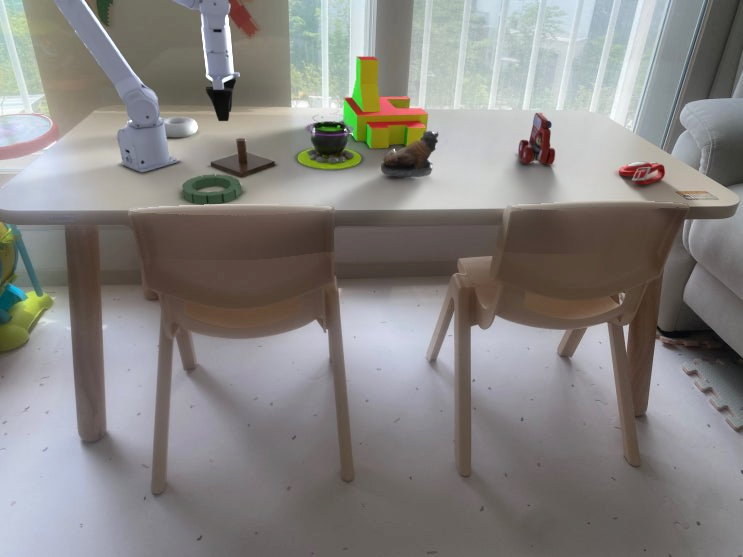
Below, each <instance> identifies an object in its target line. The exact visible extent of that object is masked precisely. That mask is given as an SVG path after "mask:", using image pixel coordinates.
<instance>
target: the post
mask: <svg viewBox="0 0 743 557" xmlns="http://www.w3.org/2000/svg"><path fill="white" fill-rule="evenodd" d="M235 141H236V142H235V143H236V152H237V153H235V154H232V155H229V156H226V157H222V158H219V159H216V160H213V161H210V167H212V168H214V169H218V170H220V171H223V172H226V173H228V174H231V175H234V176H237V177H240V178H244V177H246V176H250V175H252V174H254V173H255V174H256V173H257V172H260V171H263V170H266V169H269V168H271V167H275V165H276V161H275V160H272V159H270V158H267V157H263V156H261V155H257V154H254V153H251V152H248V151H247V140H246V138H243V137H238V138H236V139H235Z"/></svg>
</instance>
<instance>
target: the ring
mask: <svg viewBox="0 0 743 557" xmlns="http://www.w3.org/2000/svg"><path fill="white" fill-rule="evenodd" d="M215 186H217V187H224V189H221V190H216V191H200V190H199V189H202V188H205V187H215ZM181 188H182V194H183V198H184V200H187V201H188V202H190V203H191V204H192V203H194V204H199V205H217V204H223V203H227V202H230V201H233V200H235V199H237V198H238V197H239V196H240V195H241V194H242V185H241V182H240V180H239V179H238V178H237V177H234V176H232V175H228V174H218V173H217V174H215V173H213V174H203V175H197V176H195V177H192V178H189V179H187V180H186V181H184V182H183V183H182V184H181Z"/></svg>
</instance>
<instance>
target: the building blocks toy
mask: <svg viewBox="0 0 743 557" xmlns="http://www.w3.org/2000/svg"><path fill="white" fill-rule="evenodd" d="M378 78H379V59H378V58H376V57H375V56H356V58H355V81H354V86H353V90H352V95H351V97H347V96H346V97H344V96H343V105H342V106H343V107H342V108H343V110H342V112H343V114H342V118H343V120H342V121H343V123H345V124H346V125H347V124H348V126H349V125H350V126H352V127H353V128H355V129H353V128H351V129H353V130H354V132H352V131H353V130H352V131H351V134H352V137H353V138H354V140H355V142H365V143H366V144H367V146H368V147H369V149H389V147H390V146H391V145H403V146H405V147H407V146H408V145H410V144H411V143H413V142H415V141H421V139H420V138H422V137H423V132H424V131H425V132H428V121H429V120H428V119H429V113H428V112H427V111H425V110H424V109H422V107H414V108H413V107H412V108H411V107H410V106H411V98H410V97H409V96H380V93H379V85H378V81H379V80H378ZM343 116H345V117H343ZM345 118H347V119H346V120H345ZM344 120H345V121H344ZM347 130H348V131H350V130H349V128H348V127H347Z"/></svg>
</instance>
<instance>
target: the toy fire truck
mask: <svg viewBox="0 0 743 557" xmlns="http://www.w3.org/2000/svg"><path fill="white" fill-rule="evenodd" d="M552 125H553V123H552V121H550V120H548V118H547V117H546V116H545V115H544V113H543V112H535V113H534V117H533V120H532V127H531V130H530V136H529V139H520V141H519V143H518V149H517V150H518V151H517V152H518V156H519V157H521V159H522V160H521V161H522V164H528V165H529V164H531V162H533V161H537V162H538V163H542V164H545V165H548V166H549V165H550V166H551V165H553V164H554V162H555V159H556V150H555V148H554V147H551V135H552V132H551V128H552Z"/></svg>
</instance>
